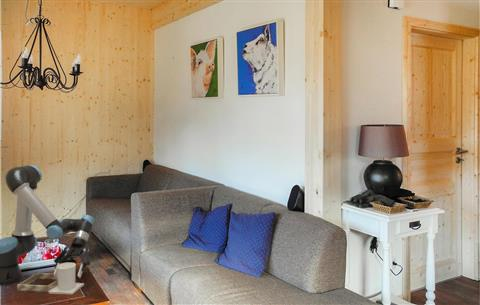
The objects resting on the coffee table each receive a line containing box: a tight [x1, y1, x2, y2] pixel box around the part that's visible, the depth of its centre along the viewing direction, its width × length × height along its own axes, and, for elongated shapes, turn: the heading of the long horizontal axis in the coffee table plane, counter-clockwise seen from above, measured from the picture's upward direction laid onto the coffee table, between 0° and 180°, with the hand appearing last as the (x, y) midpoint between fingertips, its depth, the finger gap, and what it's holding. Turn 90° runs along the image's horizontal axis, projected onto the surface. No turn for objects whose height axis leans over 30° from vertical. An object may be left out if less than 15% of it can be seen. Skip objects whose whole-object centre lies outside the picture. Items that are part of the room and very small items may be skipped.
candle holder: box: [55, 263, 77, 290], centre depth 223 cm, size 10×10×12 cm
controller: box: [61, 256, 77, 265], centre depth 248 cm, size 4×12×10 cm, turn 57°
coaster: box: [48, 282, 85, 296], centre depth 223 cm, size 13×13×1 cm
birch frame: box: [16, 272, 58, 293], centre depth 229 cm, size 18×18×3 cm
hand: (66, 276), depth 222 cm, fingers open, 13 cm apart
